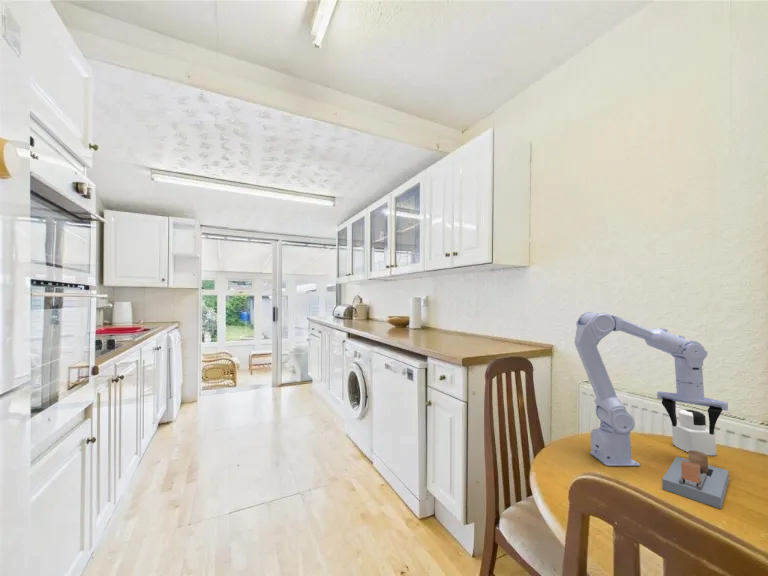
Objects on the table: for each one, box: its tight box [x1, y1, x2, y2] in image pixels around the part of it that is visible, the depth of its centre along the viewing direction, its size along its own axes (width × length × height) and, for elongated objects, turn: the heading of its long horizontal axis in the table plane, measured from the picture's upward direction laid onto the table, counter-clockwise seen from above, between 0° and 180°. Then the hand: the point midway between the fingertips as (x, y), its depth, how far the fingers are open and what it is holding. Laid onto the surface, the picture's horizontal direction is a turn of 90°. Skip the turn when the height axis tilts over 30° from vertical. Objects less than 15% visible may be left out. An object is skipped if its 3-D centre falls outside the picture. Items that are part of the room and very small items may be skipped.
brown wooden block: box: [687, 451, 709, 476], centre depth 83 cm, size 4×4×6 cm
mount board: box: [661, 456, 730, 510], centre depth 80 cm, size 18×10×3 cm, turn 128°
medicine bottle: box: [671, 409, 717, 457], centre depth 99 cm, size 7×7×12 cm
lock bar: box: [681, 461, 701, 487], centre depth 78 cm, size 7×3×4 cm, turn 128°
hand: (692, 429), depth 90 cm, fingers open, 7 cm apart
